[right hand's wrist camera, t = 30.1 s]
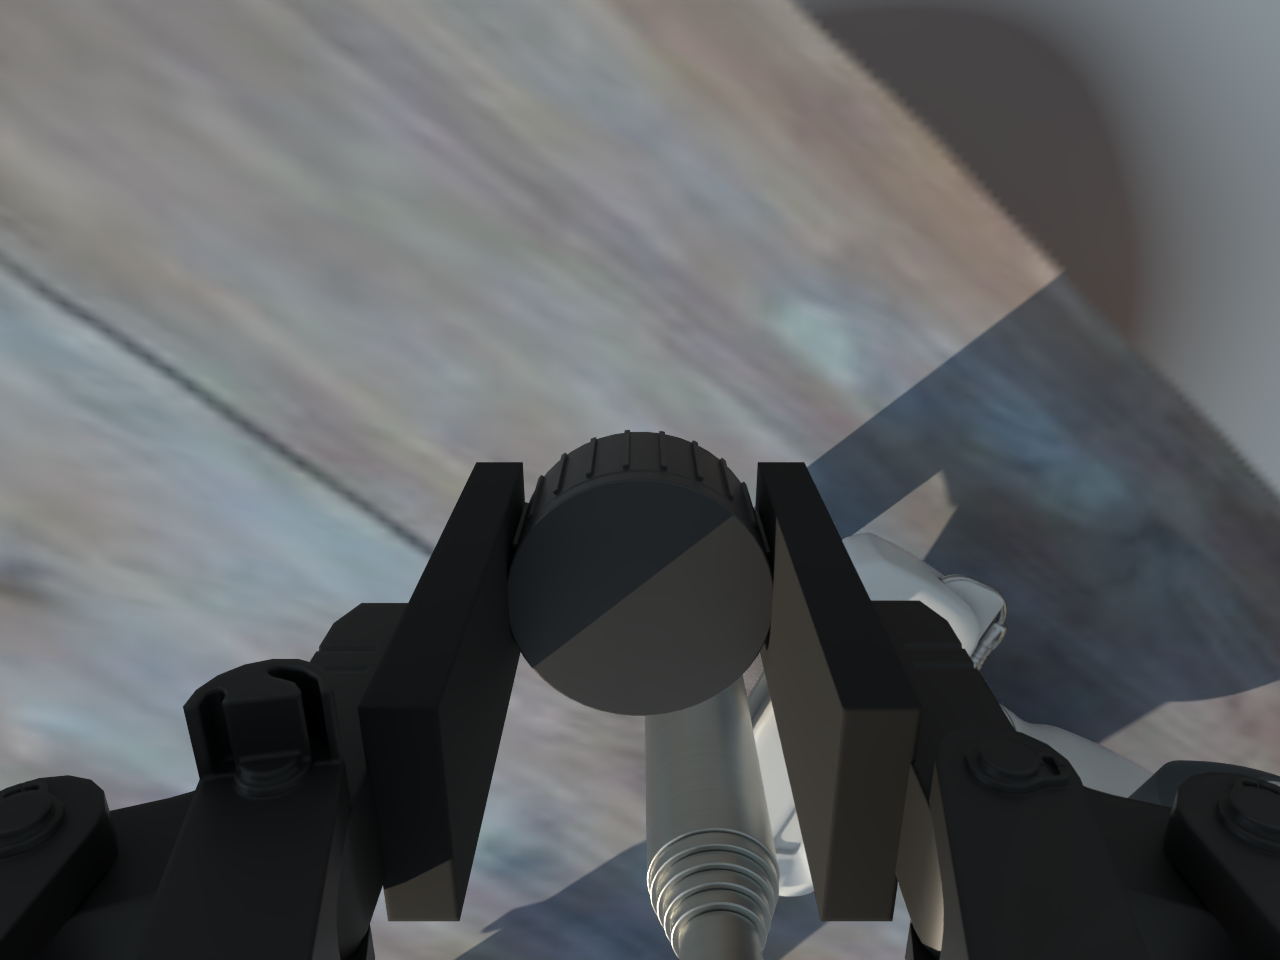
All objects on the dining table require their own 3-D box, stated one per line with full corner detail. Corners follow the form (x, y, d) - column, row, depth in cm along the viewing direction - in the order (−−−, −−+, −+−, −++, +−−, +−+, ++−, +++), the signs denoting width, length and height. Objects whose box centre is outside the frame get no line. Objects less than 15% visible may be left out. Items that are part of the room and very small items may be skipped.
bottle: (626, 602, 50) (616, 1014, 27) (695, 555, 49) (746, 943, 26) (678, 659, 51) (710, 1098, 28) (746, 615, 50) (837, 1033, 27)
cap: (672, 683, 16) (677, 761, 14) (474, 572, 15) (450, 639, 13) (809, 510, 14) (835, 570, 13) (602, 379, 14) (596, 422, 12)
